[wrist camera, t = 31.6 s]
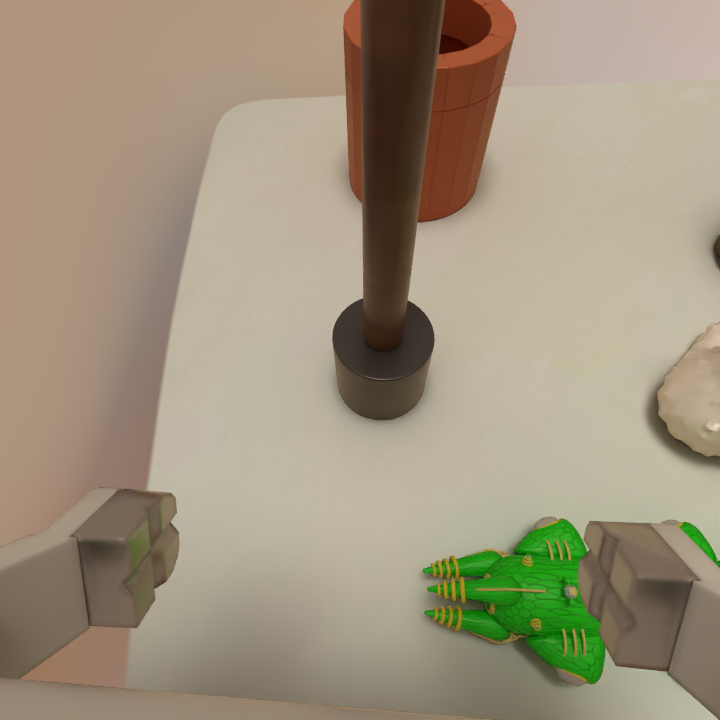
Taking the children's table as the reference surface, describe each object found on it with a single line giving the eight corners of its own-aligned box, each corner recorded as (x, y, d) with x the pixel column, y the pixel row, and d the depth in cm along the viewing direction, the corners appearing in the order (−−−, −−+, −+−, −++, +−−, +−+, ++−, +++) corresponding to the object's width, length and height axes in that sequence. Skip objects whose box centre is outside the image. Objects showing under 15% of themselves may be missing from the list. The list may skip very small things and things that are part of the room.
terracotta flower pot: (331, 204, 36) (318, 49, 26) (372, 126, 40) (374, -30, 31) (460, 235, 34) (498, 81, 24) (488, 149, 38) (528, -8, 29)
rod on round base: (324, 404, 27) (191, -297, 7) (354, 333, 30) (324, -346, 9) (410, 431, 27) (572, -280, 6) (433, 356, 29) (606, -340, 8)
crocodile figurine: (836, 689, 20) (941, 704, 17) (422, 675, 21) (435, 687, 17) (774, 531, 24) (851, 513, 20) (417, 521, 24) (427, 502, 20)
